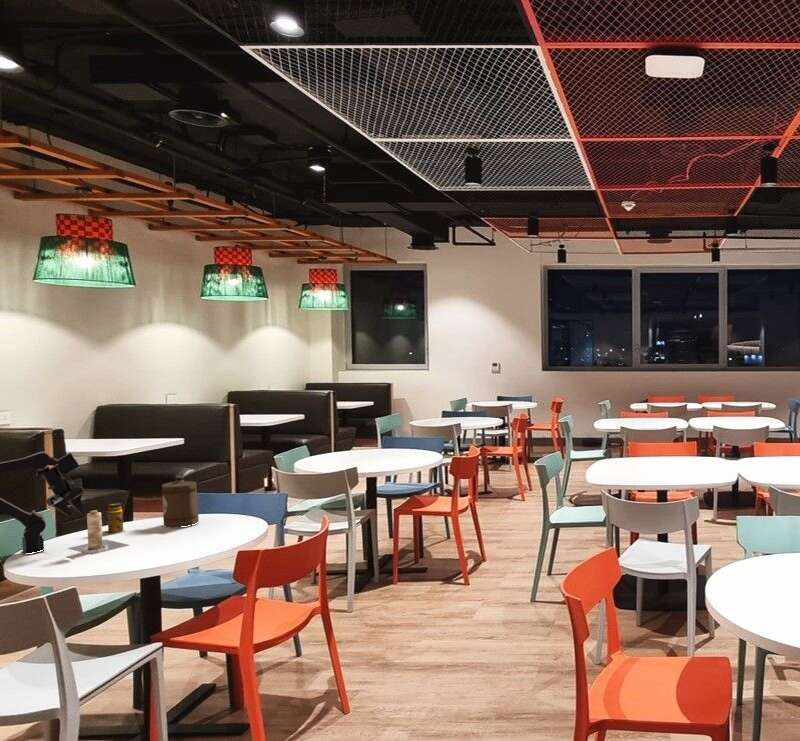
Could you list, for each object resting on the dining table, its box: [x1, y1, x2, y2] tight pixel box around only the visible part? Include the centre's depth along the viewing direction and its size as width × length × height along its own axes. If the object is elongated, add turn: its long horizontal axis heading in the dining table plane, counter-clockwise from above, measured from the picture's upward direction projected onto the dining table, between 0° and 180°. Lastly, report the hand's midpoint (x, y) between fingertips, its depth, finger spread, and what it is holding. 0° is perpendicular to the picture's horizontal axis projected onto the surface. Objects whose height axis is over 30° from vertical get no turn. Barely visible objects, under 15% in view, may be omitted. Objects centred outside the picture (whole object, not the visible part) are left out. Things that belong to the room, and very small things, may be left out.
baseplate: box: [67, 538, 130, 555], centre depth 286 cm, size 16×18×2 cm
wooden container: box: [161, 474, 199, 528], centre depth 325 cm, size 15×15×22 cm
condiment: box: [102, 502, 127, 536], centre depth 315 cm, size 7×8×12 cm
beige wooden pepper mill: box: [86, 509, 103, 550], centre depth 280 cm, size 5×5×15 cm
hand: (76, 514), depth 291 cm, fingers open, 9 cm apart
